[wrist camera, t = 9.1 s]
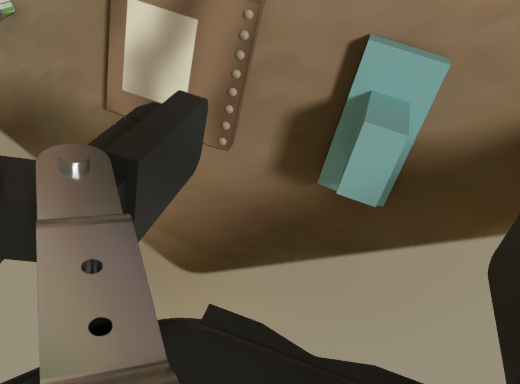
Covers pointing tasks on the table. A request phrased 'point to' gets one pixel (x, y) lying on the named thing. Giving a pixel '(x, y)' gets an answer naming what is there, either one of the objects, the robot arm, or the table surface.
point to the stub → (381, 119)
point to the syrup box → (6, 8)
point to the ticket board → (183, 56)
